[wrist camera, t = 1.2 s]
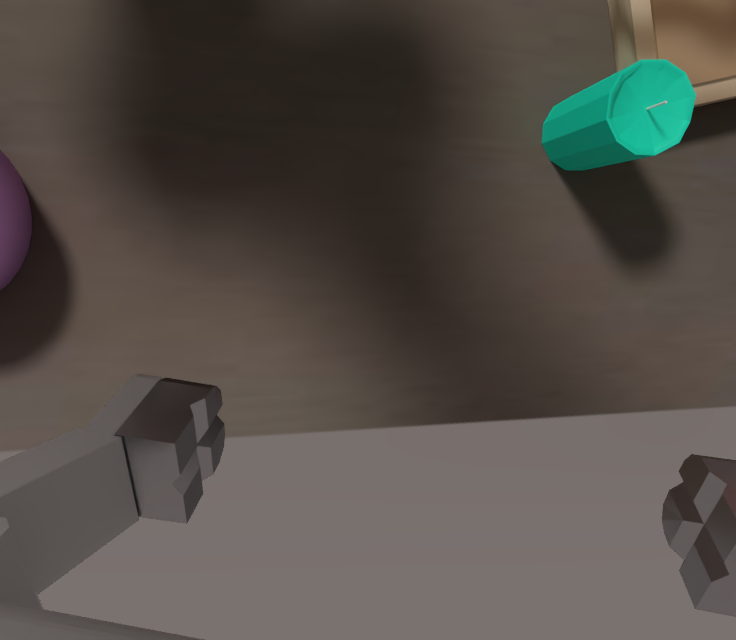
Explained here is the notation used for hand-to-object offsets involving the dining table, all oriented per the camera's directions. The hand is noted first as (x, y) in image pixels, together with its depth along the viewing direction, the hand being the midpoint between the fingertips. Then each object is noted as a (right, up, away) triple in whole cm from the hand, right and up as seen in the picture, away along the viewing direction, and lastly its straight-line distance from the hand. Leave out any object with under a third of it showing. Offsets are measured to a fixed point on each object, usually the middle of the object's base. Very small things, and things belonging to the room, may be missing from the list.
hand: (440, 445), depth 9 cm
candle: (+16, +18, +35) cm, 42 cm away
